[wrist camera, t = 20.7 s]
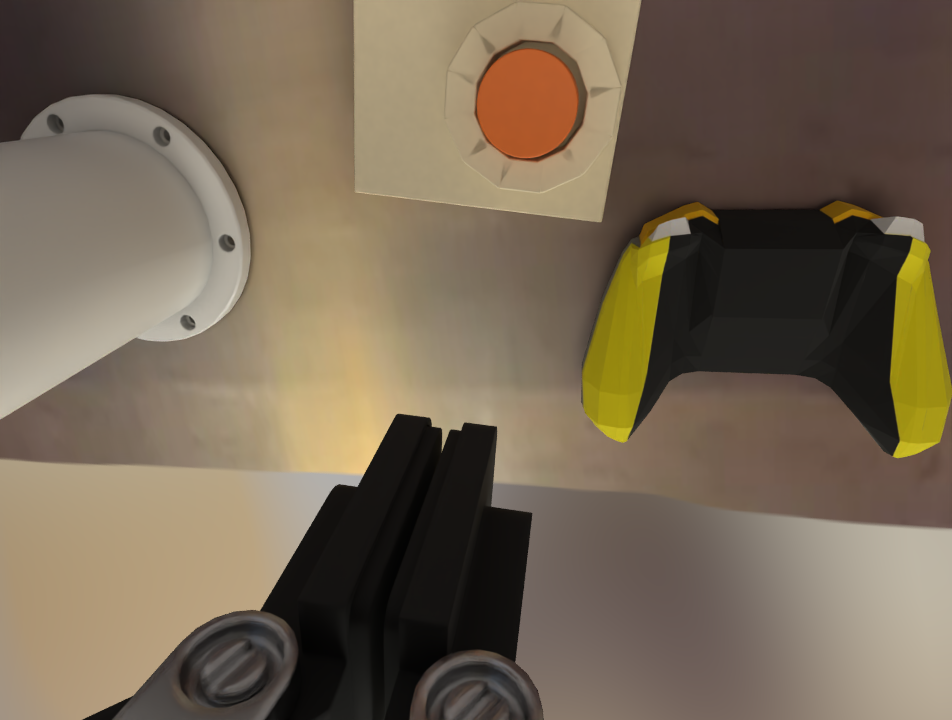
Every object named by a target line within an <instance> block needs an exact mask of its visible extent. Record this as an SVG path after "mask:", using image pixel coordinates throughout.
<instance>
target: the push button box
mask: <svg viewBox="0 0 952 720" xmlns="http://www.w3.org/2000/svg"><path fill="white" fill-rule="evenodd" d="M641 1H642V0H354V175H355V192H358V193H366V194H374V195H382V196H390V197H399V198H407V199H415V200H423V201H431V202H439V203H447V204H455V205H463V206H472V207H480V208H488V209H496V210H504V211H512V212H520V213H528V214H537V215H545V216H553V217H561V218H569V219H577V220H585V221H593V222H602V219H603V213H604V208H605V202H606V197H607V191H608V185H609V180H610V174H611V169H612V163H613V157H614V152H615V146H616V141H617V135H618V129H619V124H620V118H621V113H622V107H623V101H624V96H625V90H626V85H627V79H628V73H629V68H630V62H631V57H632V51H633V45H634V40H635V34H636V29H637V23H638V17H639V12H640V6H641ZM525 48H533V49H539V50H543V51H546V52H549V53H551V54H553V55H555V56H557V57H558V58H560V59H561V60H562V61H563V62H564V63H565V64H566V65H567V66H568V68H569V69H570V71H571V72H572V74H573V76H574V78H575V80H576V84H577V87H578V93H579V104H578V111H577V115H576V119H575V122H574V125H573V127H572V129H571V131H570V132H569V134H568V136H567V137H566V138H565V139H564V141H563V142H562V143H561V144H560V145H559V146H557V147H556V148H555V149H553V150H552V151H550V152H548V153H546V154H544V155H541V156H538V157H534V158H519V157H514V156H511V155H508V154H506V153H504V152H502V151H501V150H499V149H498V148H496V147H495V146H494V145H493V144H492V143H491V142H490V141H489V140H488V138H487V137H486V135H485V134H484V132H483V130H482V128H481V125H480V123H479V119H478V115H477V95H478V90H479V87H480V84H481V81H482V79H483V77H484V75H485V74H486V72H487V71H488V69H489V68H490V67H491V66H492V65H493V63H494V62H495V61H497V60H498V59H499V58H500V57H502V56H504V55H505V54H507V53H509V52H512V51H515V50H518V49H525Z"/></svg>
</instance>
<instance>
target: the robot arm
mask: <svg viewBox="0 0 952 720" xmlns="http://www.w3.org/2000/svg"><path fill="white" fill-rule="evenodd" d="M233 240H234V241H233ZM250 260H251V248H250V232H249V228H248V223H247V219H246V214H245V210H244V208H243V205H242V203H241V200H240V198H239V195H238V192H237V190H236V187H235V186H234V184H233V182H232V180H231V179H230V177H229V175H228V174H227V172H226V170H225V169H224V167H223V165H222V164H221V162H220V161H219V160H218V159H217V157H216V156H215V155H214V154H213V152H212V151H211V150H210V149H209V147H208V146H207V145H206V144H205V143H204V142H203V141H202V140H201V139H200V138H199V137H198V136H197V135H196V134H195V133H194V132H192V131H191V130H190V129H189V128H188V127H187V126H186V125H185V124H183V123H182V122H180V121H179V120H177V119H176V118H174V117H173V116H171V115H170V114H168V113H167V112H165V111H164V110H162V109H160V108H157V107H155V106H153V105H150V104H148V103H146V102H144V101H141V100H139V99H135V98H130V97H126V96H121V95H116V94H90V95H82V96H74V97H69V98H66V99H64V100H61V101H59V102H56V103H54V104H51V105H50V106H48V107H47V108H46V109H44V110H43V111H42V112H41V113H39V114H38V115H37V116H35V117H34V119H33V120H32V121H31V123H30V124H29V125H28V127H27V128H26V129H25V131H24V132H23V134H22V136H21V139H20V140H17V141H9V142H2V143H0V419H2V418H3V417H5V416H7V415H8V414H10V413H12V412H13V411H15V410H17V409H18V408H20V407H22V406H23V405H25V404H27V403H28V402H30V401H32V400H33V399H35V398H36V397H38V396H40V395H41V394H43V393H45V392H46V391H48V390H50V389H51V388H53V387H55V386H56V385H58V384H60V383H61V382H63V381H65V380H66V379H68V378H69V377H71V376H73V375H74V374H76V373H78V372H79V371H81V370H83V369H84V368H86V367H88V366H89V365H91V364H93V363H94V362H96V361H98V360H99V359H101V358H102V357H104V356H106V355H107V354H109V353H111V352H112V351H114V350H116V349H117V348H119V347H121V346H122V345H124V344H126V343H127V342H129V341H131V340H132V339H134V338H139V339H143V340H149V341H165V342H166V341H174V340H181V339H186V338H189V337H191V336H194V335H197V334H199V333H202V332H203V331H205V330H206V329H208V328H209V327H211V326H212V325H214V324H216V323H217V322H218V321H219V320H220V319H222V318H223V317H224V316H225V315H226V314H227V313H228V312H230V311H231V309H232V308H233V306H234V305H235V303H236V302H237V300H238V299H239V298H240V296H241V294H242V291H243V288H244V286H245V283H246V281H247V278H248V272H249V266H250ZM496 441H497V427H495V426H487V425H480V424H472V423H464V424H463V427H462V430H461V431H459V430H452V429H451V430H450V432H449V434H448V437H447V440H446V442H445V445H444V448H443V451H442V429H441V428H437V427H432V423H431V419H430V418H427V417H420V416H412V415H404V414H397V415H396V416H395V418H394V420H393V422H392V423H391V425H390V427H389V429H388V431H387V433H386V435H385V437H384V438H383V440H382V442H381V444H380V446H379V448H378V450H377V452H376V453H375V455H374V457H373V459H372V461H371V463H370V465H369V467H368V468H367V470H366V472H365V474H364V476H363V478H362V480H361V482H360V483H359V485H358V487H354V486H347V485H340V484H339V485H337V486H335V487H334V488H333V489H332V491H331V492H330V494H329V495H328V497H327V499H326V500H325V502H324V504H323V506H322V507H321V509H320V510H319V512H318V514H317V516H316V517H315V519H314V521H313V522H312V524H311V526H310V527H309V529H308V531H307V532H306V534H305V536H304V538H303V539H302V541H301V543H300V544H299V546H298V548H297V549H296V551H295V553H294V554H293V556H292V558H291V560H290V561H289V563H288V565H287V566H286V568H285V570H284V571H283V573H282V575H281V577H280V578H279V580H278V582H277V583H276V585H275V587H274V588H273V590H272V592H271V593H270V595H269V597H268V598H267V600H266V602H265V603H264V605H263V607H262V609H261V610H260V611H256V610H247V611H236V612H232V613H229V614H225V615H222V616H219V617H216V618H214V619H212V620H210V621H209V622H207V623H205V624H203V625H202V626H200V627H198V628H197V629H195V630H194V631H193V632H192V633H191V634H190V635H189V636H188V637H186V638H185V639H184V640H183V641H182V642H181V643H180V644H179V645H178V646H177V647H176V648H175V650H174V651H173V652H172V653H171V654H170V655H169V656H168V658H167V659H166V660H165V661H164V662H163V663H162V664H161V665H160V666H159V668H158V669H157V670H156V671H155V672H154V673H153V674H152V675H151V677H150V678H149V679H148V680H147V681H146V682H145V683H144V684H143V686H142V687H141V688H140V689H139V690H138V691H137V692H136V694H135V695H134V696H132V697H130V698H128V699H125V700H123V701H121V702H119V703H117V704H115V705H113V706H110V707H108V708H106V709H104V710H102V711H100V712H98V713H96V714H93V715H91V716H89V717H87V718H85V719H83V720H544V718H543V709H542V705H541V701H540V698H539V693H538V690H537V688H536V687H535V686H534V684H533V682H532V680H531V679H530V677H529V675H528V674H527V673H526V672H525V671H524V670H523V669H521V668H520V667H519V666H518V665H517V664H516V663H515V660H516V651H517V642H518V633H519V625H520V616H521V607H522V599H523V590H524V581H525V572H526V564H527V555H528V547H529V538H530V529H531V521H532V513H529V512H523V511H516V510H509V509H501V508H495V507H491V501H492V489H493V477H494V465H495V453H496Z"/></svg>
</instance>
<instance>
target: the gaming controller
mask: <svg viewBox="0 0 952 720" xmlns="http://www.w3.org/2000/svg"><path fill="white" fill-rule="evenodd" d="M930 252H931V251H930V249H929V247H928V245H927V244H926V243H925V242H924V232H923V224H922V223H920V222H918V221H917V220H915V219H911V218H904V217H897V216H896V217H887V218H883V217H881V216H879V215H876V214H874V213H872V212H869V211H867V210H865V209H862V208H860V207H858V206H855V205H853V204H849V203H845V202H841V201H835V202H833V203H831V204H829V205H828V206H826V207H824V208H822V209H820V210H710V209H709V208H707V207H705V206H704V205H702V204H701V203H699V202H695V203H691V204H688V205H684V206H682V207H680V208H677V209H675V210H673V211H671V212H669V213H667V214H665V215H663V216H660V217H658V218H656V219H654V220H652V221H650V222H648V223H646V224H644V226H643V229H642V231H641V234H640V235H639V236H638V237H636V238H633V239H631V240H630V242H629V243H628V244H627V246H626V247H625V249H624V250H623V251H622V253H621V256H620V258H619V260H618V262H617V265H616V267H615V269H614V271H613V274H612V276H611V278H610V280H609V283H608V285H607V287H606V289H605V292H604V294H603V296H602V299H601V302H600V306H599V309H598V312H597V315H596V319H595V322H594V325H593V329H592V332H591V335H590V339H589V342H588V345H587V349H586V352H585V355H584V359H583V362H582V390H581V403H582V405H583V408H584V411H585V413H586V414H587V416H588V417H589V418H590V419H591V420H592V422H593V423H594V424H595V425H596V426H597V427H598V428H599V429H600V430H601V431H602V432H603V433H604V434H606V435H607V436H608V437H610V438H612V439H614V440H616V441H619V442H622V443H623V442H626V441H627V440H628V439H629V437H630V436H631V435H632V434H633V432H634V431H635V430H636V429H637V427H638V426H639V425H640V424H641V422H642V421H643V420H644V419H645V417H646V416H647V415H648V413H649V412H650V411H651V409H652V408H653V406H654V405H655V403H656V401H657V400H658V398H659V397H660V395H661V393H662V392H663V390H664V389H665V387H666V385H667V384H668V382H669V381H670V380H672V379H674V378H675V377H677V376H679V375H680V374H682V373H688V372H695V371H709V372H736V373H764V374H792V375H801V376H806V377H812V378H816V379H818V380H819V381H821V382H823V383H824V384H826V385H828V386H829V387H831V388H832V389H833V391H834V392H835V393H836V394H837V395H838V396H839V397H840V399H841V400H842V401H843V402H844V403H845V404H846V406H847V407H848V408H849V409H850V410H851V411H852V413H853V414H854V415H855V416H856V418H857V419H858V420H859V421H860V423H861V424H862V425H863V426H864V428H865V429H866V430H867V431H868V433H869V434H870V435H871V436H872V438H873V439H874V440H875V441H876V443H877V444H878V445H879V446H880V447H881V448H882V450H883V451H884V452H886V453H888V454H889V455H891V456H893V457H896V458H900V457H906V456H910V455H914V454H917V453H919V452H921V451H923V450H925V449H927V448H929V447H931V446H933V445H935V444H937V443H938V442H940V439H941V436H942V432H943V429H944V425H945V421H946V417H947V413H948V409H949V405H950V401H951V397H952V386H951V381H950V376H949V370H948V365H947V360H946V355H945V350H944V345H943V340H942V335H941V330H940V324H939V319H938V314H937V308H936V302H935V296H934V291H933V285H932V279H931V273H930V267H929V262H928V258H929V255H930Z"/></svg>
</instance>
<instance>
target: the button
mask: <svg viewBox="0 0 952 720" xmlns="http://www.w3.org/2000/svg"><path fill="white" fill-rule="evenodd" d="M578 104H579V93H578V87H577V84H576V80H575V78H574V76H573V74H572V72H571V71H570V69H569V68H568V66H567V65H566V64H565V63H564V62H563V61H562V60H561V59H560V58H558V57H557V56H555V55H553V54H551V53H549V52H546V51H543V50H539V49H533V48H525V49H518V50H515V51H512V52H509V53H507V54H505V55H504V56H502V57H500V58H499V59H498V60H497V61H495V62H494V63H493V65H492V66H491V67H490V68H489V69H488V71H487V72H486V74H485V75H484V77H483V79H482V81H481V84H480V87H479V90H478V95H477V115H478V119H479V123H480V125H481V128H482V130H483V132H484V134H485V135H486V137H487V138H488V140H489V141H490V142H491V143H492V144H493V145H494V146H495V147H496V148H498V149H499V150H501V151H502V152H504V153H506V154H508V155H511V156H514V157H519V158H534V157H538V156H541V155H544V154H546V153H548V152H550V151H552V150H553V149H555V148H556V147H557V146H559V145H560V144H561V143H562V142H563V141H564V139H565V138H566V137H567V136H568V134H569V132H570V131H571V129H572V127H573V125H574V122H575V119H576V115H577V111H578Z"/></svg>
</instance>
